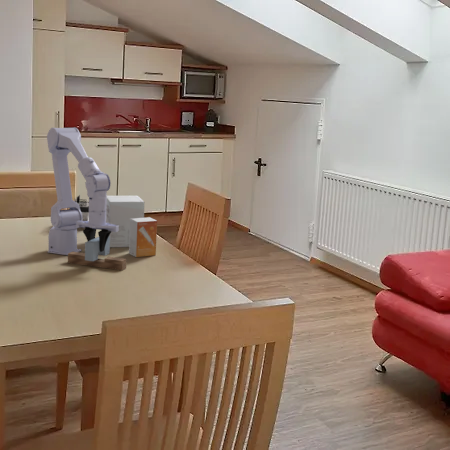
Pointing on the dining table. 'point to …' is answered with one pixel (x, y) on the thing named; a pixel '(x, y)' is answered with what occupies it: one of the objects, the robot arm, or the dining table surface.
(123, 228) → the supplement box
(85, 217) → the black-topped pedestal
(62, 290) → the dining table surface
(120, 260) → the notched rail
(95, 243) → the plain blue-gray board
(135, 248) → the small box
